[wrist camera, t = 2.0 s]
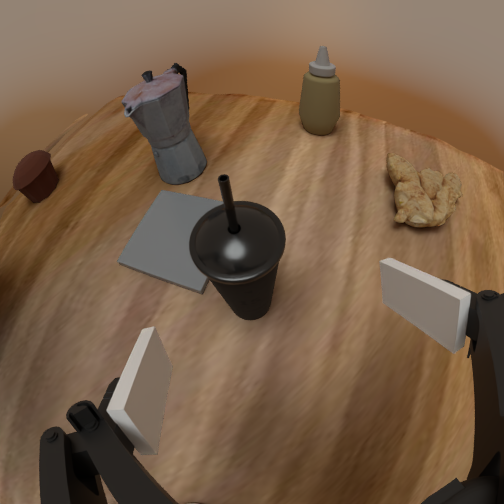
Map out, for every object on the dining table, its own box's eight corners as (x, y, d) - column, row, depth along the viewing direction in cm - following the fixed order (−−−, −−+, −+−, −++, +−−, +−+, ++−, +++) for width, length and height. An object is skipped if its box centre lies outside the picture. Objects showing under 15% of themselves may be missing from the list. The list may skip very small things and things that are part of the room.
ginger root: (362, 213, 37) (381, 166, 31) (380, 172, 47) (394, 136, 41) (451, 262, 33) (479, 222, 27) (449, 209, 42) (468, 176, 36)
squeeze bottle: (314, 143, 48) (320, 55, 33) (290, 123, 52) (289, 43, 37) (345, 132, 50) (356, 52, 34) (320, 114, 54) (325, 40, 38)
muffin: (59, 165, 55) (41, 136, 46) (67, 182, 50) (46, 150, 41) (25, 194, 51) (5, 168, 42) (30, 216, 46) (6, 187, 38)
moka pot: (141, 195, 45) (94, 97, 28) (178, 140, 52) (152, 54, 35) (189, 200, 43) (151, 88, 26) (221, 142, 50) (203, 47, 33)
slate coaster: (120, 264, 38) (116, 261, 37) (163, 194, 44) (161, 190, 43) (202, 294, 34) (200, 291, 33) (241, 209, 41) (240, 205, 40)
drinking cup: (210, 288, 35) (152, 167, 18) (265, 263, 36) (253, 129, 19) (234, 342, 31) (181, 251, 14) (293, 314, 32) (312, 196, 15)
